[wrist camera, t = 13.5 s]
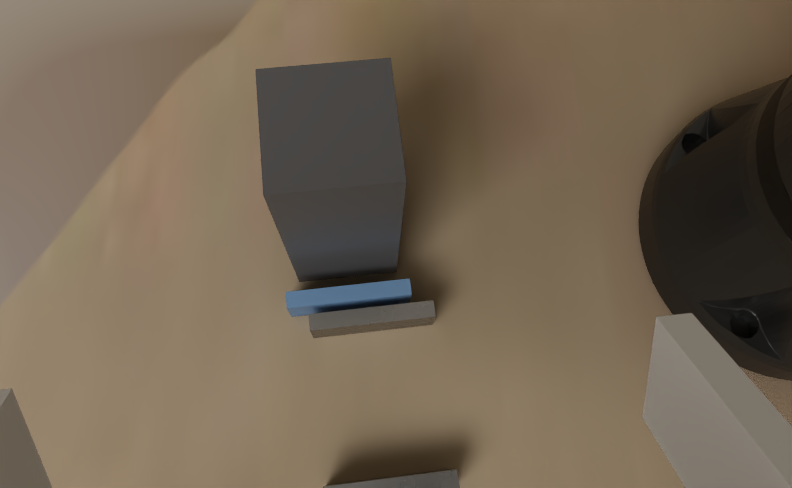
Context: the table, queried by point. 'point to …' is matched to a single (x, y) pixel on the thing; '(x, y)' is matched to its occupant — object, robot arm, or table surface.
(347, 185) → the dark grey rectangular block
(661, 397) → the robot arm
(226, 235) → the table surface
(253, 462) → the table surface
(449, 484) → the pair of grey bars
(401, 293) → the blue flat block
